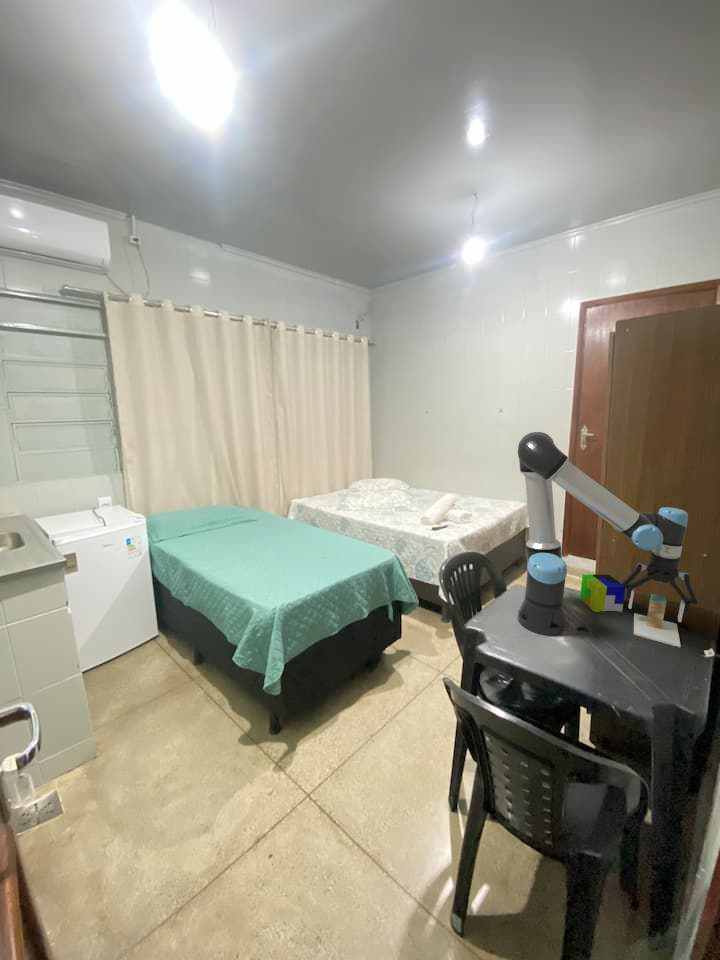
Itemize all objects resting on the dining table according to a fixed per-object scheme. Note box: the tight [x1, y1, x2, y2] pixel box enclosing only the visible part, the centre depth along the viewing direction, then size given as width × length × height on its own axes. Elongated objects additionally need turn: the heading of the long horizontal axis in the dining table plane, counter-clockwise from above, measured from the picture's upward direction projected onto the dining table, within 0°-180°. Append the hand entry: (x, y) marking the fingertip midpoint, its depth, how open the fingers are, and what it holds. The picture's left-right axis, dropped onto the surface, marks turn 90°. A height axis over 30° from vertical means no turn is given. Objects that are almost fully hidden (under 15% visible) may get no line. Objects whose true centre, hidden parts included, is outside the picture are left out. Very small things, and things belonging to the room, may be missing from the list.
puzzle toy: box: [579, 573, 627, 613], centre depth 147 cm, size 10×10×10 cm
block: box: [646, 593, 667, 629], centre depth 133 cm, size 4×4×10 cm
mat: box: [633, 612, 682, 648], centre depth 132 cm, size 12×15×1 cm
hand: (653, 613), depth 133 cm, fingers open, 13 cm apart
